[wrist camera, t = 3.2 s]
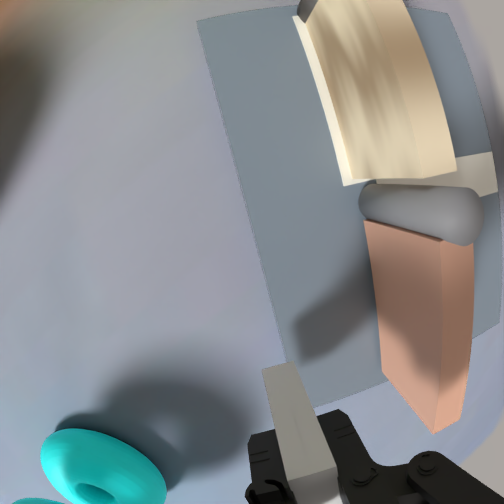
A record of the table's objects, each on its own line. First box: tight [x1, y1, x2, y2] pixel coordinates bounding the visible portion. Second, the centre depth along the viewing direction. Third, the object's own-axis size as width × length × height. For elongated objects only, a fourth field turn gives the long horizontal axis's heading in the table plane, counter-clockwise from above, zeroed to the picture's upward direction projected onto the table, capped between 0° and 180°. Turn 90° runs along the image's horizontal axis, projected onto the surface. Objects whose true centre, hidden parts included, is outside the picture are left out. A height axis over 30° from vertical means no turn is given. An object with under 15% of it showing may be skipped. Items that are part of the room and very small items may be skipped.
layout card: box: [197, 5, 502, 408], centre depth 15 cm, size 22×16×1 cm
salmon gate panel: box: [358, 184, 484, 434], centre depth 12 cm, size 11×2×7 cm, turn 15°
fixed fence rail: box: [297, 0, 457, 179], centre depth 10 cm, size 10×2×7 cm, turn 15°
